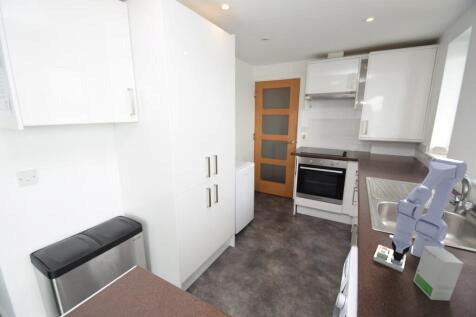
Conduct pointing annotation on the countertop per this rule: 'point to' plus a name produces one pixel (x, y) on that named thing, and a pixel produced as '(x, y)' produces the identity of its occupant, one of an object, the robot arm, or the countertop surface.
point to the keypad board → (389, 260)
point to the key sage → (382, 254)
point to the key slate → (396, 261)
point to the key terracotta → (384, 248)
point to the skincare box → (437, 273)
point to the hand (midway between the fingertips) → (397, 259)
